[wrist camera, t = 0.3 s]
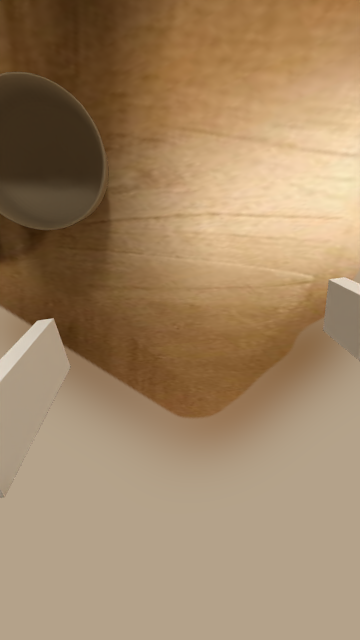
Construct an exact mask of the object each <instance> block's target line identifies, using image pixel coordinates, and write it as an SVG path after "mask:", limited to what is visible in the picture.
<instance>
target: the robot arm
mask: <svg viewBox="0 0 360 640" xmlns="http://www.w3.org/2000/svg"><path fill="white" fill-rule="evenodd" d="M323 331H324V332H325V333H327V334H328V335H329V336H330V337H331V338H333V339H334V340H335V341H336V342H338V343H339V344H340V345H341V346H342V347H344V348H345V349H346V350H347V351H348V352H350V353H351V354H352V355H353V356H354V357H356V358H357V359H358V360H359V361H360V284H359V283H356V282H354V281H352V280H350V279H348V278H345V277H343V278H336V279H329V283H328V292H327V301H326V310H325V319H324V327H323ZM70 367H71V366H70V363H69V361H68V358H67V355H66V352H65V349H64V346H63V343H62V341H61V338H60V335H59V332H58V329H57V326H56V324H55V321H54V318H52V319H45V320H38V321H37V322H36V323H35V324H34V325H33V326H32V327H31V328H30V329H29V330H28V331H27V332H26V333H25V334H24V335H23V336H22V337H21V338H20V339H19V340H18V342H16V344H15V345H14V346H13V347H12V348H11V349H10V350H9V351H8V352H7V353H6V354H5V355H4V356H3V357H2V358H1V359H0V498H2V497H5V496H6V494H7V492H8V490H9V488H10V486H11V484H12V482H13V480H14V478H15V476H16V474H17V472H18V470H19V468H20V466H21V464H22V462H23V460H24V458H25V456H26V454H27V452H28V450H29V448H30V446H31V444H32V442H33V440H34V438H35V436H36V435H37V433H38V431H39V429H40V426H41V424H42V422H43V421H44V419H45V416H46V415H47V413H48V411H49V409H50V407H51V405H52V403H53V401H54V399H55V397H56V395H57V393H58V391H59V389H60V387H61V385H62V383H63V381H64V379H65V377H66V375H67V373H68V371H69V369H70Z"/></svg>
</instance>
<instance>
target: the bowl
mask: <svg viewBox="0 0 360 640" xmlns="http://www.w3.org/2000/svg"><path fill="white" fill-rule="evenodd" d="M108 176H109V169H108V161H107V156H106V152H105V149H104V146H103V142H102V139H101V136H100V134H99V131H98V129H97V127H96V125H95V123H94V121H93V119H92V118H91V116H90V115H89V113H88V112H87V110H86V109H85V108H84V107H83V105H82V104H81V103H80V102H79V101H78V100H77V99H76V98H75V97H74V96H73V95H72V94H71V93H70V92H68V91H67V90H66V89H64V88H63V87H62V86H60V85H58V84H57V83H55V82H53V81H51V80H49V79H47V78H45V77H42V76H39V75H35V74H32V73H26V72H7V73H3V74H0V214H2V215H3V216H5V217H6V218H8V219H10V220H11V221H13V222H15V223H18V224H20V225H23V226H26V227H29V228H33V229H39V230H56V229H62V228H66V227H69V226H71V225H73V224H75V223H77V222H79V221H81V220H83V219H85V218H86V217H88V216H89V215H90V214H92V213H93V212H94V211H95V210H96V208H97V207H98V206H99V204H100V203H101V201H102V199H103V197H104V195H105V192H106V189H107V185H108Z"/></svg>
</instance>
